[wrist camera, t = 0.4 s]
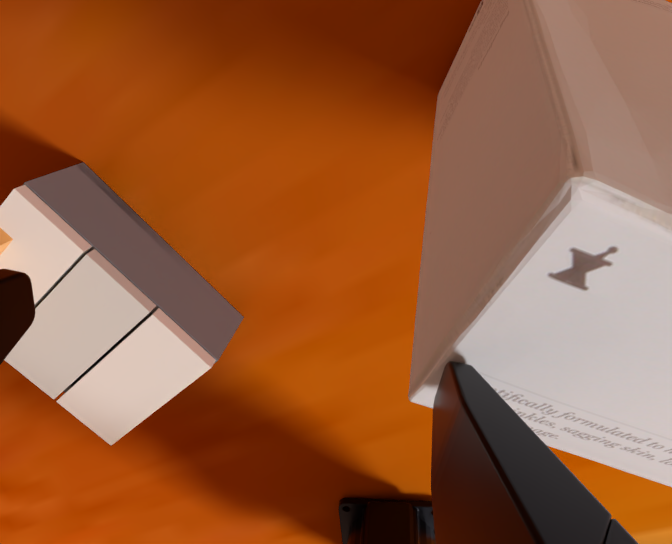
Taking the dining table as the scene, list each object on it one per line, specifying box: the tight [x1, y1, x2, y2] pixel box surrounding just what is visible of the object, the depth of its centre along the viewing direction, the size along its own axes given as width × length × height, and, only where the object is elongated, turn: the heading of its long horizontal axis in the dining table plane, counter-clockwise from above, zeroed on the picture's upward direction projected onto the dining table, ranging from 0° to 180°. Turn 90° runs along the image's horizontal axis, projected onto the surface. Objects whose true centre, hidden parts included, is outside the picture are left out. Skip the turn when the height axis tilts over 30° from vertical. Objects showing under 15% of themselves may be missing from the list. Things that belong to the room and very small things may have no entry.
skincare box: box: [408, 0, 672, 487], centre depth 13 cm, size 8×6×15 cm
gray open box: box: [22, 163, 244, 392], centre depth 24 cm, size 11×8×4 cm
